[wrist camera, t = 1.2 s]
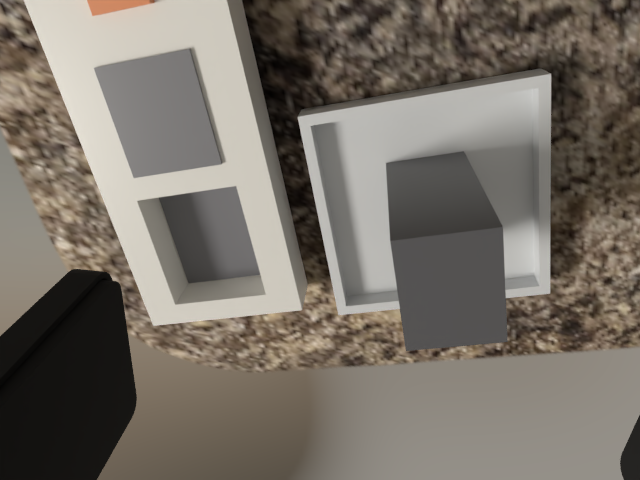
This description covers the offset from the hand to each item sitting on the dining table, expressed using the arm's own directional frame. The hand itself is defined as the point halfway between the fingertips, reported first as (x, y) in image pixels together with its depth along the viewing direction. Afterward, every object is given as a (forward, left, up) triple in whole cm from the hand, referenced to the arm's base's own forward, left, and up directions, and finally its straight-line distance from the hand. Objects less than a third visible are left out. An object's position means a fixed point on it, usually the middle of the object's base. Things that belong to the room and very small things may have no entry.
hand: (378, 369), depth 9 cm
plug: (-5, +4, -22) cm, 23 cm away
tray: (-5, +4, -22) cm, 23 cm away
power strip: (+9, +7, -22) cm, 25 cm away
